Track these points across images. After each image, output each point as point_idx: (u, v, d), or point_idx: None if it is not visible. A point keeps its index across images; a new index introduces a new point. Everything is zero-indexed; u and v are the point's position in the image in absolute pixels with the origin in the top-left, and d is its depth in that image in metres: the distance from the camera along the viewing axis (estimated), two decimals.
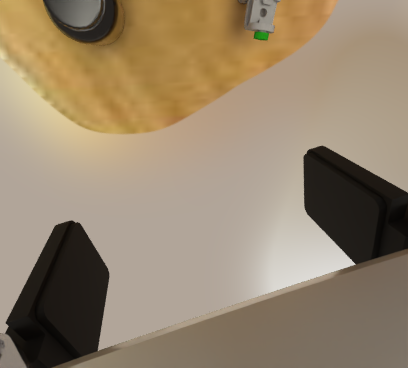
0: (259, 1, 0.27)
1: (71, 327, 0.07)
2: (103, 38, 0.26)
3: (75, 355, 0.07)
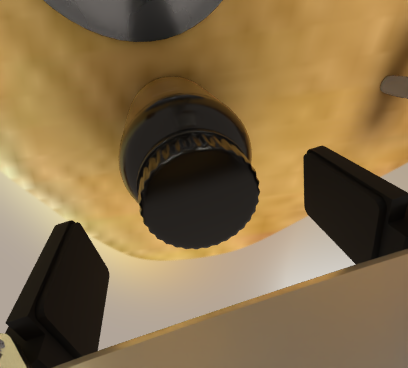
0: None
1: (71, 327, 0.07)
2: None
3: (75, 355, 0.07)
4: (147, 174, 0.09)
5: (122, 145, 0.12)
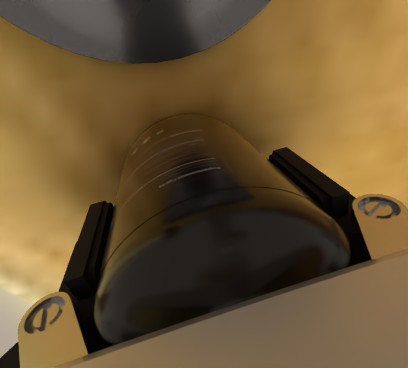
0: None
1: None
2: None
3: None
4: None
5: (97, 306, 0.05)
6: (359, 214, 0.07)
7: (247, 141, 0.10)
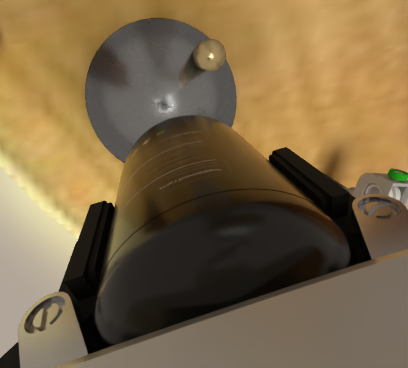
0: None
1: None
2: None
3: None
4: None
5: (98, 308, 0.05)
6: (359, 214, 0.07)
7: (247, 142, 0.10)
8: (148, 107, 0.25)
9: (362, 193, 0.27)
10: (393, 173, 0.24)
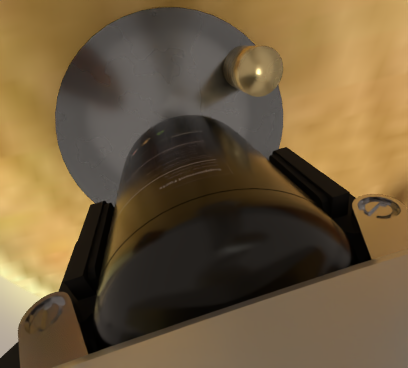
0: None
1: None
2: None
3: None
4: None
5: (98, 308, 0.05)
6: (359, 214, 0.07)
7: (247, 142, 0.10)
8: None
9: None
10: None
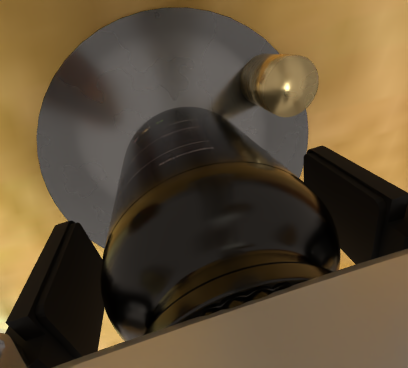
0: None
1: (71, 327, 0.07)
2: None
3: (75, 355, 0.07)
4: None
5: (105, 265, 0.06)
6: None
7: (240, 130, 0.11)
8: None
9: None
10: None
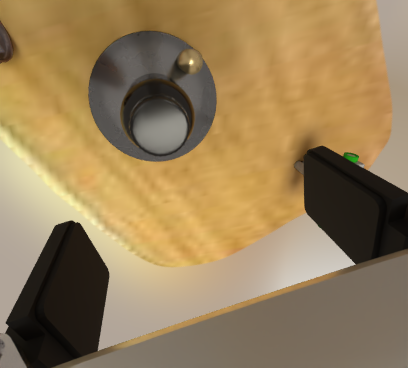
0: None
1: (71, 327, 0.07)
2: None
3: (75, 355, 0.07)
4: (133, 113, 0.19)
5: (121, 106, 0.22)
6: None
7: (173, 80, 0.27)
8: None
9: None
10: (346, 156, 0.29)
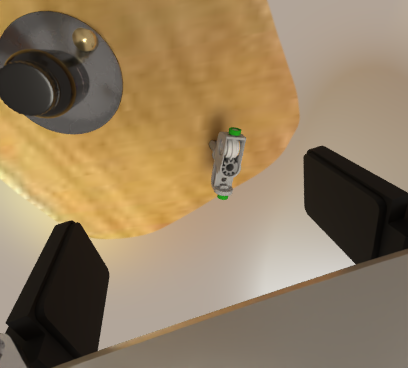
0: (220, 173, 0.36)
1: (71, 327, 0.07)
2: (62, 114, 0.28)
3: (75, 355, 0.07)
4: None
5: None
6: None
7: (68, 56, 0.30)
8: None
9: (218, 148, 0.35)
10: (229, 130, 0.32)
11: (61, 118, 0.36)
